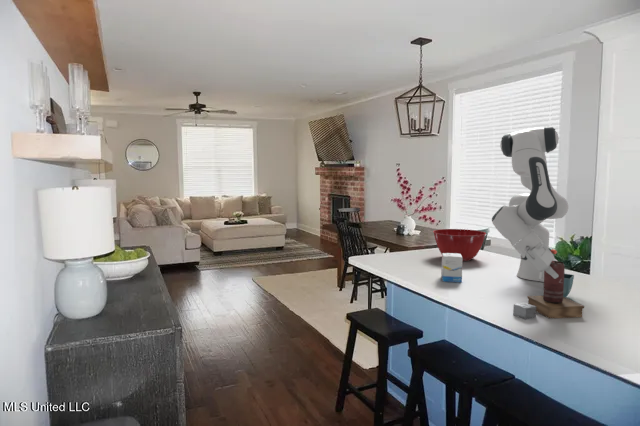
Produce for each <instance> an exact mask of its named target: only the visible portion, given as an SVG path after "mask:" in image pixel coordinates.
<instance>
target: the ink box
mask: <svg viewBox="0 0 640 426" xmlns="http://www.w3.org/2000/svg"><path fill="white" fill-rule="evenodd" d="M463 262H464V261H463V257H462V255H461V254H458V253H442V254H441V275H440V277H441V280H442V282H447V283H449V282H451V283H462V282H463Z"/></svg>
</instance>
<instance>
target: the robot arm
mask: <svg viewBox="0 0 640 426" xmlns="http://www.w3.org/2000/svg"><path fill="white" fill-rule="evenodd" d="M559 139H560V138H559V134H558V132H557V131H556V128H554V127H553V126H543V127H533V128H527V129H522V130H519V131H513V132H507V133H506V134H504V135H503V136H502V137H501V141H500V143H499V144H500V145H499V147H500V150H501V153H502V154H503V156H505V157H506V158H507V157H508V158H511V167H512V170H513V172H514V173H515V174H516V175H518V176H519V177H520V182H521V185H522V186H523V187H525V188H527V189H528V190H529V191H530V193H519V194H518V193H517V194H514V195H513V196H511V198H510V199H509V203H508V205H503V206H500V208H499V209H498V210H497V211H496V212H495V213H494V214H493V216H492V217H491V222H492V225H493V226H494V228H495V229H496V230H497V231H498V232H499V233H500V234H501V236H502V237H504V238H505V239H506V240H508V241H509V243H510V244H511V246H512V247H513V248H514V249H515V250H516V251H517V252H518V253H519V255H520V262H519V267H518V270H517V273H516V276H517V277H518V278H521V279H524V280H530V281H537V282H542V283H544V270H545V271H546V272H547V273H548V274H550V275H551V276H552V277H553V278H554V279H556V278H557V277H559V275H558V274H557V273H556V272H555V271H554V270H553V269H552V267H551V266H550V264H551V262H552V261H558V260H557V259H556V258H555V255H556V254H557V252H558V251H557V250H556V249H554V248H552V249H551V248H550V246H549V245H550V232H549V230H548V229H547V227H545V226H543V225H542V223H543V222H544V221H546V220H557V219H562V218H564V217H565V216H566V215H567V213H568V210H569V204H568V201H567V199H566V198H565V197H564V196H562V195H561V194H559V192H557V191H556V189H555V188H554V187H553V185H552V183H551V181H550V175H549V170H548V164H547V163H548V162H547V156H546V153H547V154H548V153H550V152H553V151H554V150H556V148H557V146H558V144H559V141H560V140H559ZM564 274H566V271H565V268H564Z"/></svg>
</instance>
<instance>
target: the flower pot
mask: <svg viewBox="0 0 640 426" xmlns="http://www.w3.org/2000/svg"><path fill="white" fill-rule="evenodd" d="M574 279H575V275H574V274H570V273H565V274H564V291H563V297H565V298H568V296H569V294H570V292H571V291H572V288H573V283H574Z"/></svg>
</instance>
